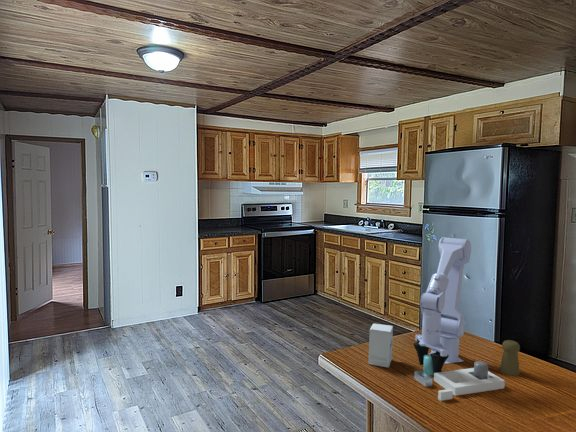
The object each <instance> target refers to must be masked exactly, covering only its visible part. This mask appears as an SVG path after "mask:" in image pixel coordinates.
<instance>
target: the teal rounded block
mask: <svg viewBox="0 0 576 432" xmlns="http://www.w3.org/2000/svg"><path fill="white" fill-rule="evenodd" d="M422 366H423V368H422V369H423V371H422V372H424V373H425V374H426V375H428V376H429V377H434V373H433V362H432V358H431V355H430V354H428V355H424V365H422Z"/></svg>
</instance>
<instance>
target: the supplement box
mask: <svg viewBox="0 0 576 432" xmlns="http://www.w3.org/2000/svg"><path fill="white" fill-rule="evenodd" d="M393 330H394V326H393V325H389V324H388V325H387V324H381V323H372V325H371V326H370V329H369V334H368V335H369V338H368V340H369V341H368V365H371V366H378V367H383V368H390V365H391V363H392V360H393V334H394V333H393V332H394V331H393Z"/></svg>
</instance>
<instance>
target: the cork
mask: <svg viewBox="0 0 576 432" xmlns="http://www.w3.org/2000/svg"><path fill="white" fill-rule="evenodd" d="M501 347H502V349H503V352H502V356H501V357H502V358H501V363H500V367H499V371H500V372H501V373H503V374H504V375H507V376H515V377H516V376H517V377H518V376H520V374H521V373H520V372H521V371H520V362H519V352H520V350H521V346H520V344H519V342H517V341H515V340H512V339H511V340H510V339H507V340H504V341H502V345H501Z"/></svg>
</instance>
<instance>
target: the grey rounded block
mask: <svg viewBox="0 0 576 432" xmlns="http://www.w3.org/2000/svg"><path fill="white" fill-rule="evenodd" d="M473 368H474V377H476V378H478V379H479V380H483V379H488V371H489V364H488V363H486V362H484V361H481V360H480V361H477V360H476V361H474V362H473Z"/></svg>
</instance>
